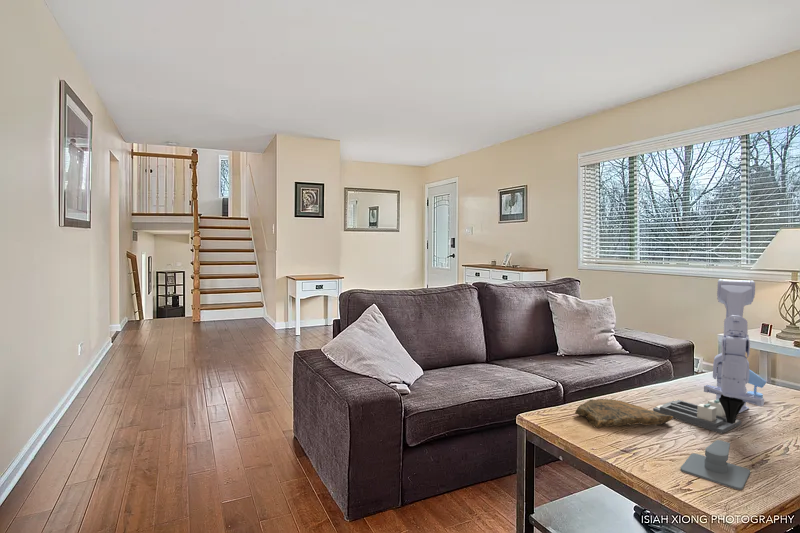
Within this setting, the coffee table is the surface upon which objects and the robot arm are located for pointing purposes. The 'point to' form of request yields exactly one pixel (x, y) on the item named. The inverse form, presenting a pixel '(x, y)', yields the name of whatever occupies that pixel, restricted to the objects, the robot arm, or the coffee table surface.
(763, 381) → the spotlight
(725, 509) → the coffee table surface
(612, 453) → the coffee table surface
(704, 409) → the tab
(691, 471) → the shower valve
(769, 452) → the coffee table surface
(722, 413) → the tab
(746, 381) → the robot arm
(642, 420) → the rock
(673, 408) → the switch bank
